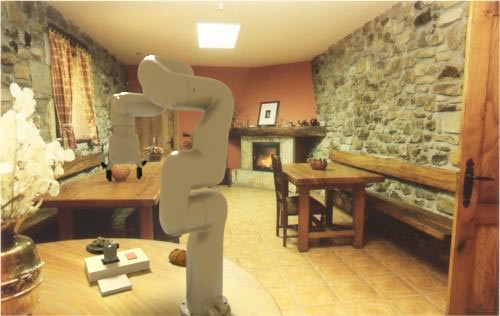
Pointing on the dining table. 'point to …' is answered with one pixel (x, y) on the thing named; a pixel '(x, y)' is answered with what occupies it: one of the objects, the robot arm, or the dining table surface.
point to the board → (116, 265)
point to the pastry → (178, 257)
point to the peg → (110, 254)
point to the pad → (114, 284)
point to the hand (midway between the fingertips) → (124, 180)
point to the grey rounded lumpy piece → (99, 245)
